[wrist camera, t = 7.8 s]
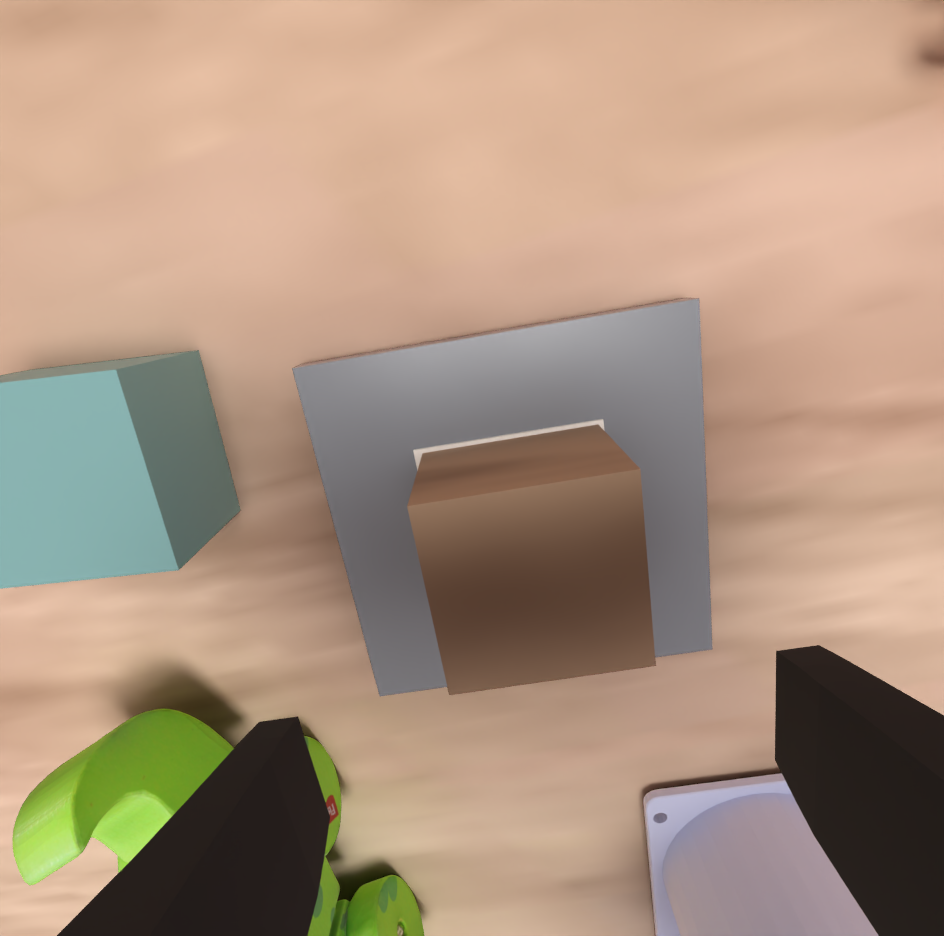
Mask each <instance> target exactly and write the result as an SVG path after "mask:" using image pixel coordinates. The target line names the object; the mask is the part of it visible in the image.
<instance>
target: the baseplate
mask: <svg viewBox="0 0 944 936" xmlns="http://www.w3.org/2000/svg"><path fill="white" fill-rule="evenodd" d="M292 370H293V374H294V377H295V381H296V385H297V389H298V392H299V396H300V400H301V403H302V407H303V411H304V415H305V418H306V422H307V426H308V430H309V433H310V437H311V441H312V445H313V448H314V452H315V456H316V460H317V463H318V467H319V471H320V475H321V478H322V482H323V486H324V490H325V493H326V497H327V501H328V504H329V508H330V512H331V516H332V519H333V523H334V527H335V531H336V534H337V538H338V542H339V546H340V549H341V553H342V557H343V561H344V564H345V568H346V572H347V576H348V579H349V583H350V587H351V591H352V594H353V598H354V602H355V605H356V609H357V613H358V617H359V620H360V624H361V628H362V632H363V635H364V639H365V643H366V647H367V650H368V654H369V658H370V662H371V665H372V669H373V673H374V677H375V680H376V684H377V688H378V692H379V695H380V696H385V695H392V694H400V693H407V692H414V691H421V690H428V689H435V688H442V687H447V683H446V679H445V674H444V670H443V665H442V661H441V656H440V652H439V647H438V643H437V638H436V634H435V629H434V625H433V620H432V616H431V611H430V607H429V602H428V598H427V593H426V589H425V584H424V580H423V575H422V571H421V566H420V562H419V557H418V553H417V548H416V544H415V539H414V535H413V530H412V526H411V521H410V517H409V512H408V508H407V505H408V502H409V498H410V495H411V491H412V488H413V484H414V481H415V477H416V474H417V471H418V467H419V464H420V460H421V457H422V453H427V452H433V451H439V450H445V449H451V448H457V447H463V446H470V445H476V444H482V443H488V442H494V441H500V440H506V439H512V438H518V437H524V436H530V435H536V434H542V433H549V432H555V431H561V430H567V429H573V428H579V427H585V426H591V425H597V424H598V425H599V426H600V427H601V428H602V429H603V430H604V431H605V432H606V433H607V434H608V435H609V436H610V437H611V438H612V439H613V441H614V442H615V443H616V444H617V445H618V446H619V447H620V448H621V449H622V450H623V451H624V452H625V453H626V454H627V455H628V456H629V457H630V459H631V460H632V461H633V462H634V463H635V464H636V465H637V466H638V467H639V468H640V471H641V484H642V497H643V509H644V522H645V535H646V547H647V560H648V573H649V585H650V598H651V611H652V623H653V636H654V649H655V657H662V656H669V655H676V654H683V653H690V652H697V651H704V650H712V626H711V599H710V572H709V546H708V519H707V492H706V466H705V439H704V412H703V386H702V359H701V333H700V306H699V298H681V299H676V300H670V301H664V302H658V303H652V304H646V305H641V306H635V307H629V308H623V309H617V310H612V311H606V312H600V313H594V314H588V315H583V316H577V317H571V318H565V319H559V320H554V321H548V322H542V323H536V324H530V325H525V326H519V327H513V328H507V329H501V330H495V331H490V332H484V333H478V334H472V335H466V336H461V337H455V338H449V339H443V340H437V341H432V342H426V343H420V344H414V345H408V346H403V347H397V348H391V349H385V350H379V351H374V352H368V353H362V354H356V355H350V356H344V357H339V358H333V359H327V360H321V361H315V362H310V363H304V364H301V365H299V366H296V367H294V368H292Z"/></svg>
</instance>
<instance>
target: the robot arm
mask: <svg viewBox="0 0 944 936" xmlns="http://www.w3.org/2000/svg"><path fill="white" fill-rule="evenodd" d="M775 761H776V763H777V765H778V767H779V769H780V771H781V773H779V774H772V775H764V776H756V777H748V778H741V779H733V780H725V781H718V782H710V783H702V784H694V785H687V786H679V787H671V788H663V789H656V790H652V791H650V792H648V793H647V794H646V795H645V797H644V800H643V805H644V815H645V826H646V837H647V848H648V858H649V869H650V880H651V891H652V901H653V912H654V923H655V934H656V936H944V715H942V714H940V713H938V712H937V711H935V710H933V709H931V708H929V707H928V706H926V705H924V704H922V703H921V702H919V701H917V700H915V699H914V698H912V697H910V696H908V695H907V694H905V693H903V692H901V691H900V690H898V689H896V688H895V687H893V686H891V685H889V684H888V683H886V682H884V681H882V680H881V679H879V678H877V677H875V676H874V675H872V674H870V673H868V672H867V671H865V670H863V669H861V668H860V667H858V666H856V665H854V664H852V663H851V662H849V661H847V660H845V659H844V658H842V657H840V656H838V655H836V654H834V653H833V652H831V651H829V650H827V649H825V648H823V647H821V646H819V645H817V646H810V647H803V648H795V649H788V650H781V651H776V727H775ZM329 822H330V815H329V812H328V809H327V805H326V802H325V799H324V796H323V793H322V790H321V787H320V784H319V781H318V778H317V775H316V771H315V768H314V765H313V762H312V759H311V756H310V753H309V750H308V747H307V744H306V741H305V738H304V734H303V731H302V728H301V725H300V722H299V719H298V717H292V718H285V719H278V720H271V721H263V722H259V723H258V724H257V725H256V726H255V727H254V728H253V729H252V730H251V731H250V732H249V733H248V734H247V735H246V736H245V737H244V738H243V739H242V740H241V741H240V743H239V744H238V745H237V746H236V747H235V748H234V749H233V750H232V751H231V752H230V753H229V755H228V756H227V757H226V758H225V759H224V760H223V761H222V762H221V763H220V764H219V765H218V767H217V768H216V769H215V770H214V771H213V772H212V773H211V774H210V775H209V777H208V778H207V779H206V780H205V781H204V782H203V783H202V784H201V785H200V786H199V788H198V789H197V790H196V791H195V792H194V793H193V794H192V795H191V796H190V797H189V799H188V800H187V801H186V802H185V803H184V804H183V805H182V806H181V807H180V808H179V809H178V810H177V811H176V813H175V814H174V815H173V816H172V817H171V818H170V819H169V820H168V821H167V822H166V823H165V824H164V826H163V827H162V828H161V829H160V830H159V831H158V832H157V833H156V834H155V835H154V836H153V837H152V839H151V840H150V841H149V842H148V843H147V844H146V845H145V846H144V847H143V848H142V849H141V850H140V851H139V853H138V854H137V855H136V856H135V857H134V858H133V859H132V860H131V861H130V862H129V863H128V864H127V865H126V866H125V867H124V868H123V869H122V870H121V871H120V872H119V873H118V874H117V875H116V876H115V877H114V878H113V879H112V880H111V881H110V882H109V883H108V884H107V885H106V886H105V887H104V888H103V889H102V890H101V891H100V892H99V893H98V895H97V896H96V897H95V898H94V899H93V900H92V901H91V902H90V903H89V904H88V905H87V906H86V907H85V908H84V909H83V910H82V911H81V912H80V913H79V914H78V915H77V916H76V917H75V918H74V919H73V920H72V921H71V922H70V923H69V924H68V925H67V926H66V927H65V928H64V929H63V930H62V931H61V932H60V933H59V934H58V935H57V936H308V932H309V928H310V924H311V920H312V917H313V913H314V909H315V905H316V901H317V897H318V892H319V886H320V880H321V874H322V868H323V862H324V856H325V849H326V843H327V836H328V829H329Z"/></svg>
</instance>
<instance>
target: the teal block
mask: <svg viewBox="0 0 944 936" xmlns="http://www.w3.org/2000/svg"><path fill="white" fill-rule="evenodd" d="M239 511H240V506H239V502H238V499H237V495H236V491H235V487H234V483H233V480H232V476H231V472H230V468H229V464H228V461H227V457H226V453H225V449H224V445H223V441H222V438H221V434H220V430H219V426H218V422H217V419H216V415H215V411H214V407H213V403H212V399H211V396H210V392H209V388H208V384H207V380H206V377H205V373H204V369H203V365H202V361H201V358H200V354H199V350H197V351H188V352H179V353H171V354H162V355H154V356H145V357H136V358H128V359H119V360H111V361H102V362H93V363H85V364H76V365H68V366H59V367H51V368H42V369H33V370H27V371H22V372H16V373H11V374H6V375H0V588H10V587H20V586H30V585H39V584H49V583H59V582H69V581H78V580H88V579H98V578H107V577H117V576H127V575H137V574H146V573H156V572H166V571H176V570H179V569H180V568H182V567H183V566H184V565H185V564H186V563H187V562H188V561H189V560H190V559H191V558H192V557H193V556H194V555H195V554H196V553H197V552H198V551H199V550H200V549H201V548H202V547H203V546H204V545H205V544H206V543H207V542H208V541H209V540H210V539H211V538H212V537H213V536H215V535H216V534H217V533H218V532H219V531H220V530H221V529H222V528H223V527H224V526H225V525H226V524H227V523H228V522H229V521H230V520H231V519H232V518H233V517H234V516H235V515H236V514H237V513H238V512H239Z"/></svg>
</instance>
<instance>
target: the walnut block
mask: <svg viewBox="0 0 944 936" xmlns="http://www.w3.org/2000/svg"><path fill="white" fill-rule="evenodd" d="M407 508H408V512H409V517H410V521H411V526H412V530H413V535H414V539H415V544H416V548H417V553H418V557H419V562H420V566H421V571H422V575H423V580H424V584H425V589H426V593H427V598H428V602H429V607H430V611H431V616H432V620H433V625H434V629H435V634H436V638H437V643H438V647H439V652H440V656H441V661H442V665H443V670H444V674H445V679H446V683H447V688H448V692H449V695H454V694H461V693H468V692H475V691H482V690H489V689H496V688H503V687H510V686H517V685H524V684H531V683H538V682H545V681H552V680H559V679H566V678H573V677H580V676H587V675H594V674H601V673H608V672H615V671H622V670H629V669H636V668H643V667H650V666H656V661H655V649H654V636H653V623H652V611H651V598H650V585H649V573H648V560H647V547H646V535H645V522H644V509H643V497H642V484H641V471H640V468H639V467H638V466H637V465H636V464H635V463H634V462H633V461H632V460H631V459H630V457H629V456H628V455H627V454H626V453H625V452H624V451H623V450H622V449H621V448H620V447H619V446H618V445H617V444H616V443H615V442H614V441H613V439H612V438H611V437H610V436H609V435H608V434H607V433H606V432H605V431H604V430H603V429H602V428H601V427H600V426H599V425H598V424H597V425H591V426H585V427H579V428H573V429H567V430H561V431H555V432H549V433H542V434H536V435H530V436H524V437H518V438H512V439H506V440H500V441H494V442H488V443H482V444H476V445H470V446H463V447H457V448H451V449H445V450H439V451H433V452H427V453H422V457H421V460H420V464H419V467H418V471H417V474H416V477H415V481H414V484H413V488H412V491H411V495H410V498H409V502H408V505H407Z"/></svg>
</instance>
